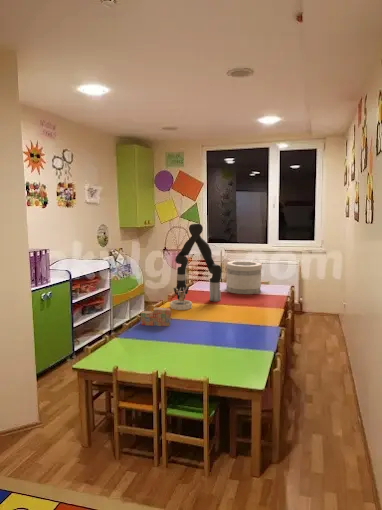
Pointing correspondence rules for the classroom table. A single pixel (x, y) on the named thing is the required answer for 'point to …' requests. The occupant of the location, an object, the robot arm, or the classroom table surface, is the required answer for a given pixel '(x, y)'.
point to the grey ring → (181, 305)
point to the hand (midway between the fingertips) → (181, 298)
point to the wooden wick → (181, 296)
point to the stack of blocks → (156, 317)
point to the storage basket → (243, 277)
